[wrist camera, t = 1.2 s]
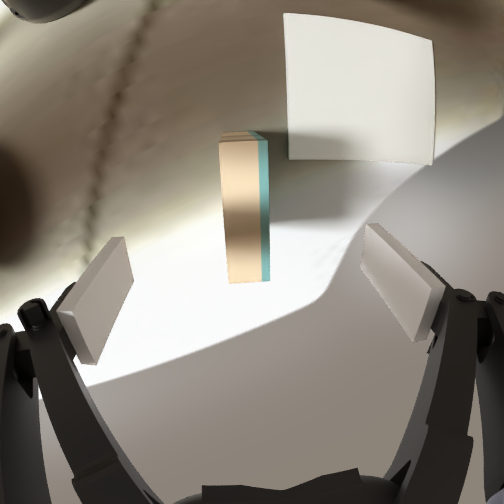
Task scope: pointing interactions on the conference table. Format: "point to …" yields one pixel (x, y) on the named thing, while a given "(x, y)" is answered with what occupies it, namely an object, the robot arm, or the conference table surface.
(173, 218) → the conference table surface
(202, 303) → the conference table surface
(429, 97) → the mat
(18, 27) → the conference table surface
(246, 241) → the block
